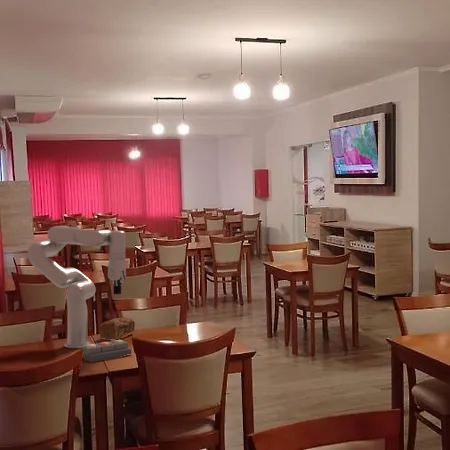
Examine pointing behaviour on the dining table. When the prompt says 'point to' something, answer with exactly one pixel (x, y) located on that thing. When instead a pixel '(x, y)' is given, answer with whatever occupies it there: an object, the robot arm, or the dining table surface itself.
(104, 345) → the terracotta button
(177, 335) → the dining table surface
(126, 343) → the button panel
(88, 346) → the cream button
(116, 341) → the sage button
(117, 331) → the bread
